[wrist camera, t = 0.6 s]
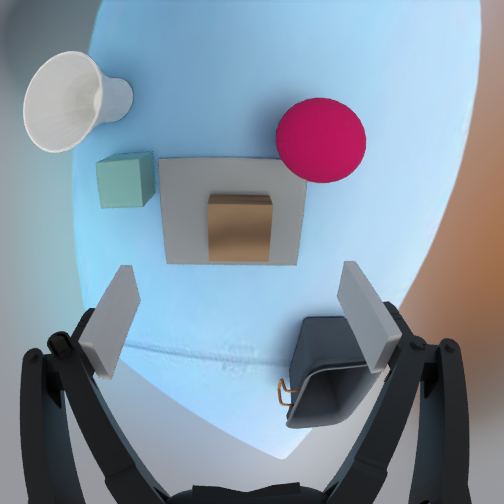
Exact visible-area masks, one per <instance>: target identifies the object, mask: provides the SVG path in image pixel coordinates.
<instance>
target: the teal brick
mask: <svg viewBox="0 0 504 504" xmlns="http://www.w3.org/2000/svg"><path fill="white" fill-rule="evenodd" d="M96 172H97V181H98V190H99V197H100V204H101V208H124V207H143V206H144V205H145V204H146V203H147V202H148V201H149V199H150V198H151V197H152V196H153V195H154V194H155V181H154V162H153V151H151V152H137V153H125V154H114V155H112V156H110V157H107V158H105V159H103V160H101V161H99V162H97V163H96Z"/></svg>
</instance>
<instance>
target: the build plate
mask: <svg viewBox="0 0 504 504" xmlns="http://www.w3.org/2000/svg"><path fill="white" fill-rule="evenodd" d="M158 165H159V185H160V200H161V213H162V224H163V234H164V244H165V253H166V261H167V264H205V265H297V259H298V252H299V244H300V237H301V229H302V221H303V213H304V205H305V196H306V187H307V180H305V179H302V178H300V177H298V176H297V175H295V174H294V173H293V172H291V171H290V170H289V169H288V168H287V167H286V166H285V164H284V163H283V161H282V160H281V159H275V158H252V157H175V158H160V159H158ZM210 194H227V195H269V196H270V198H271V201H272V203H273V214H272V227H271V239H270V251H269V262H250V261H209V248H208V207H207V204H208V200H209V197H210Z"/></svg>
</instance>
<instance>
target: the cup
mask: <svg viewBox="0 0 504 504" xmlns="http://www.w3.org/2000/svg"><path fill="white" fill-rule="evenodd" d="M132 102H133V91H132V88H131V86H130V85H129V84H128V82H127V81H125V80H123V79H120V78H109V77H107V76H105V75H104V74H103V73H102V71H101V70H100V68H99V67H98V65H97V64H96V63H95V62H94V61H93V59H92V58H91V57H90V56H88V55H86V54H83V53H82V52H76V51H68V52H63V53H60V54H58V55H56V56H54V57H52V58H50V59H49V60H48V61H47V62H46V63H45V64H44V65H42V66H41V67H40V68H39V70H38V71H37V72H36V74H35V75H34V77H33V78H32V80H31V82H30V84H29V86H28V89H27V92H26V95H25V99H24V107H23V117H24V124H25V127H26V130H27V133H28V135H29V137H30V138H31V140H32V141H33V142H34V144H35V145H37V146H38V147H39V148H41V149H42V150H44V151H47V152H51V153H58V152H59V153H61V152H64V151H67V150H69V149H72V148H74V147H75V146H76V145H78V144H79V143H80V142H82V141H83V140H84V138H85V137H86V136H87V135H88V134H89V133H90V132H91V131H92V130H93V129H94V128H95V127H96V126H97V125H98V124H100V123H102V122H115V121H118V120H120V119H121V118H123V117H124V116H125V115H126V114H127V113H128V111H129V110H130V108H131V105H132Z"/></svg>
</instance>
